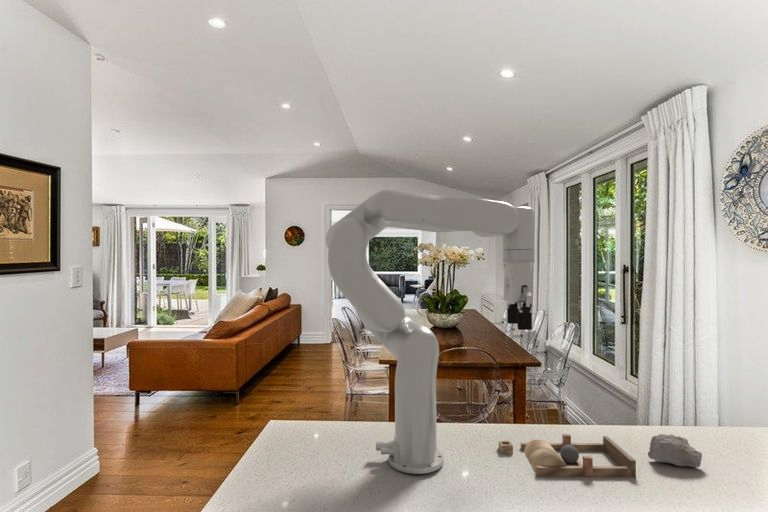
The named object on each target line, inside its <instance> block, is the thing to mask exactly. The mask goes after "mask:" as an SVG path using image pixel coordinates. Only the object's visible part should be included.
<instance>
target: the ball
mask: <svg viewBox="0 0 768 512" xmlns="http://www.w3.org/2000/svg"><path fill="white" fill-rule="evenodd" d="M559 454H560V455H559V456H560V457H561V458H562V460H563V461H564V462H565V463H566V464H570V465H571V464H576V463H575V462H576V461H577V460H578V461H579V458H580V453H579V451H578V450H577V449H576V448H575V447H574V446H572V445H564V446H563V447H562V448H561V450H559Z"/></svg>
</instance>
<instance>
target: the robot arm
mask: <svg viewBox="0 0 768 512" xmlns="http://www.w3.org/2000/svg"><path fill="white" fill-rule="evenodd" d="M386 228H395V229H396V228H397V229H404V230H414V231H423V232H429V233H452V232H472V233H473V234H475V235H476V236H478V237H481V238H490V237H491V238H492V237H499V236H500V237H501V236H502V264H505V265H504V272H503V273H504V276H503V278H504V279H503V300H504V301H505V302H506V303H507V309H506V311H507V312H506V315H507V317H506V318H507V319H506V320H507V321H506V322H507V324H509V325H512V324H513V325H515V324H516V325H517V329H518V330H519V331H531V330H532V329H533V309H532V306H533V298H534V297H533V295H534V290H533V289H534V287H533V286H534V284H533V283H534V282H533V270H532V269H533V268H532V264H535V258H536V257H535V212H534V209H533V208H532V207H529V206H513V205H512V204H510V203H508V202H505V201H499V200H491V199H485V198H483V199H482V198H474V197H457V196H445V195H444V196H443V195H434V194H427V193H425V194H424V193H418V192H411V191H405V190H399V189H390V188H388V189H383V190H379V191H377V192H375V193H374V194H373V195H371V196H370V197H368V198H367V199H366V200H364V201H363V202H361V203H360V204H359V205H358V206H357V207H355V208H354V209H353V210H352V211H350V212H349V213H347V214H346V215H345V216H343V217H341V218H340V219H339V220H338V221H336V222H334V223H333V224H332V225H331V226H330V227H329V228H328V230H327V232H326V235H325V244H326V248H327V249H328V251H327V266H328V270H329V273H330V277H331V279H332V282H333V283H334V285H335V286H336V287H337V289H338V290H339V292H341V293H342V295H343V296H344V297H345V298H346V299H347V300H348V301H349V303H350V304H351V305H352V306H353V307H354V308H355V312H356V314H357V317H358V319H359V321H360V322H361V323H362V324H363V325H364V326H365V327H366V328H367V330H368V331H369V332H370V333H371V334H372V335H373V336H374V337H375V339H377V340H378V342H379V343H381V345H382V346H383V347H385V348H386V349H387V350H388V352H390V354H392V355H393V356H394V357H396V359H397V361H396V368H395V374H394V375H395V376H394V431H395V432H394V434H395V436H393V440H389V442H386V441H385V442H384V441H376V442H375V451H376V452H378V451H379V452H380V455H388V462H389V465H390V466H391V467H392V468H393V469H395V470H397V471H399V472H403V473H406V474H414V475H417V474H419V475H420V474H428V473H433V472H435V471H438V470H439V469H440V468H442V467H443V465H444V455H443V453H441V452H440V451H439V450H438V449H437V371H438V365H439V363H438V362H439V357H440V345H439V341H438V339H437V337H436V334H434V333H433V331H432V330H431V329H430V328H429V327H427V326H425V325H422V324H420V323H418V322H415V321H413V320H412V319H411V317H409V316H408V315H407V314H406V310H405V306H404V304H403V302H402V300H401V299H400V297H398V296H397V295H396V294H395V293H394V292H393V291H392V290H391V289H390V288H389V287H388V286H387V285H386V284H385V283H384V281H383V280H382V279H381V278H380V277H379V276H378V275H377V273H376V272H375V271H374V270H373V268H372V267H371V266H370V264H369V262H368V260H367V248H368V245H369V242H370V241H371V240H372V239H374V238H375V237H377V236H378V235H379V234H380V233H381V232H382V231H384V230H385V229H386Z"/></svg>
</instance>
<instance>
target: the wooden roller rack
mask: <svg viewBox="0 0 768 512" xmlns="http://www.w3.org/2000/svg"><path fill="white" fill-rule="evenodd" d="M561 439H562V442H547V441H546V440H543V439H534V440H533V439H532V440H531V441H529V442H520V449H521V451H523V453H524V455H525V456H526V458H527V460H528V462H529V464H530V465H531V467H532V470H533V471H534V473H535V475H536V477H582V478H583V477H586V478H588V477H589V478H594V477H596V478H597V477H598V478H600V477H603V478H604V477H605V478H609V477H611V478H613V477H614V478H615V477H616V478H636V477H637V470H636V469H637V467H636V465H637V461H636V459H634V458H633V457H632V456H631V455H630V454H629V453H627V451H625V450H624V449H623V448H622V447H621V446H619V445H618V444H617V443H616V442H614V441H613V440H612V439H611V438H610V437H608V436H605V435H603V436H602V442H572V435H570V433H562V434H561ZM564 445H572V446H574V447H575V448H576V449H577V450H578V452H579V451H581V452H582V451H583V452H586V451H587V452H591V451H592V452H593V451H594V452H605V453H606V454H607V455H609V456H610V458H611V459H612V460H613V461H614V462H615V463H616V464H617V465H608V466H607V465H605V466H604V465H602V466H601V465H595V466H594V465H593V464H594V463H593V461H594V459H593V457H592V456H591V455H582V463H581V462H580V461H579V459H578V460H577V461H576V462H575V463H574V464H575V465H568V464H567V462H565V461H564V460H563V459H562V458H561V455H559V454H558V452H557V451H560V450H561V448H562V447H563V446H564Z"/></svg>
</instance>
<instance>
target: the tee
mask: <svg viewBox="0 0 768 512" xmlns="http://www.w3.org/2000/svg"><path fill="white" fill-rule="evenodd" d="M498 449H499V451H500V453H501V454H505V455H506V454H514V445H513V443H512V442H511V440H498Z"/></svg>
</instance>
